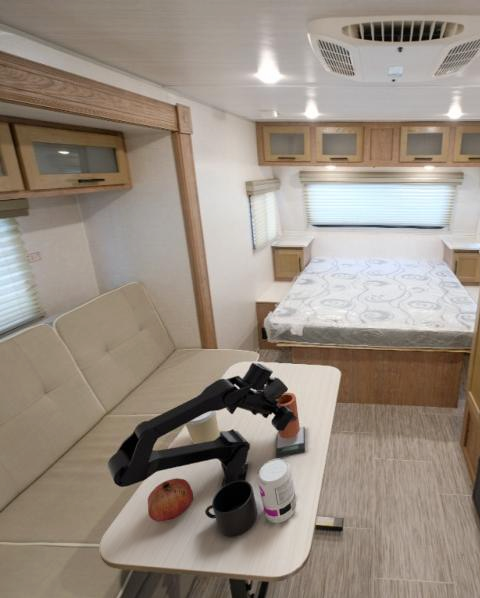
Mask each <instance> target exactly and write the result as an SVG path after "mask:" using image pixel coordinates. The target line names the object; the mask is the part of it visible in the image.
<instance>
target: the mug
mask: <svg viewBox="0 0 480 598" xmlns="http://www.w3.org/2000/svg"><path fill="white" fill-rule="evenodd" d="M211 509H212V510H213V513H211V512H210V510H211ZM258 511H259V510H258V507H257V502H256V497H255V493H254V488H253V486H252V484H251V483H250V482H249V481H247V480H246V481H244V480H238V481H233V482H231V483H228V484H227V485H225V486H221V488H220V489H218V491H217V492H216V493H215V495H214V497H213V499H212V503H211V504H210V505H209V506H207V507H206V509H205V510H204V513H205V516H206V517H207V518H210V519H215V521H216V524H217V526H218V531H219V532H220V534H221V535H222V536H225V537H228V538H236V537H240V536H242V535H244V534H245V533H247V532H248V531H249V530H250V529H251V528H252V527H253V526H254V525H255V523H256V521H257V518H258V513H259V512H258Z"/></svg>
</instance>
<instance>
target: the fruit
mask: <svg viewBox="0 0 480 598" xmlns="http://www.w3.org/2000/svg"><path fill="white" fill-rule="evenodd" d="M194 499H195V495H194V491H193V489H192V487H191V485H190V483H189V482H188V481H187V480H186V479H183V478H178V477H177V478H170V479H168V480H165V481H163V482H161V483H160V484H158V485H157V486H155V487H154V489H153V490H152V491H151V492H150V493H149V495H148V497H147V513H148V517H149V518H150V519H151V520H152V521H154V522H158V523H163V522H169V521H172V520H174V519H176V518H178V517H180V516H181V515H183V514H184V513H185V512H186V511H187V510H188V509H189V508H190V506H191V505H192V504H193V501H194Z"/></svg>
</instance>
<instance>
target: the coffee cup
mask: <svg viewBox="0 0 480 598" xmlns="http://www.w3.org/2000/svg"><path fill="white" fill-rule="evenodd" d="M185 427H186V429H187V432H188V435H189V437H190V439H191V441H192V444H197V443H203V442H209V441H214V440H215V439H217V438H218V437H219V436H220V432H219V431H220V430H219V424H218V418H217V411H210V412H207V413H205V414H203V415H201V416H199V417H197V418H195V419H193V420H191V421H190V422H188V423H186V424H185Z"/></svg>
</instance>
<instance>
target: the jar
mask: <svg viewBox="0 0 480 598" xmlns="http://www.w3.org/2000/svg"><path fill="white" fill-rule="evenodd" d="M276 400H278V401H279V402H278V404H277V405H278V406H279V407H282V406H288V407H289V408H290V409H291V411H292V412H293V413H294V414H293V415H295V416H297V419H296V420H295V421H292V422H289V423H288V425H287V426H286V428H285V429H284V431H278V430H277V433H278V432H279V436H280V437H282V438H292V437H294V436H296V435H297V434H298V433H299V430H300V427H301V426H300V419H299V409H298V403H297V396H296V395H295V394H294V393H293V392H285V393H284V394H283V395H282V396H281V397H280V398H278V399H276Z"/></svg>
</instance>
